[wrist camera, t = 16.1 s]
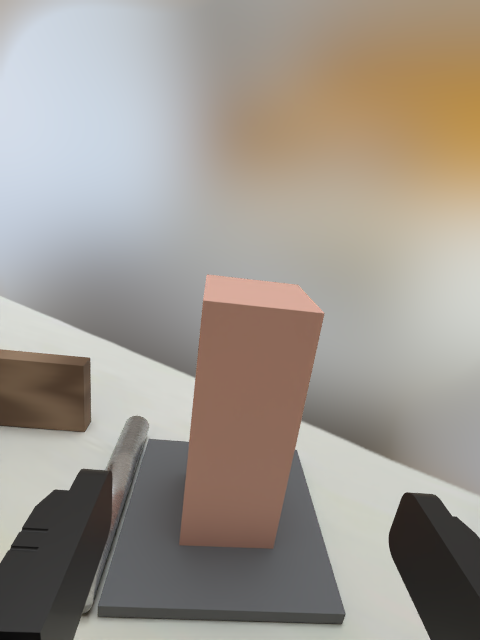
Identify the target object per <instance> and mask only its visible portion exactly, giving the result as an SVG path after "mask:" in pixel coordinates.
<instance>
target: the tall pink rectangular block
mask: <svg viewBox="0 0 480 640" xmlns="http://www.w3.org/2000/svg"><path fill="white" fill-rule="evenodd" d="M323 317H324V312H323V311H322V310H321V309H320V308H319V307H318V306H317V305H316V304H315V303H314V302H313V301H312V299H311V298H310V297H309V296H308V295H307V294H306V293H305V292H304V291H303V290H302V289H301V288H300V287H299V286H298V285H294V284H285V283H276V282H268V281H259V280H250V279H241V278H233V277H224V276H215V275H207V277H206V284H205V291H204V299H203V308H202V318H201V328H200V338H199V348H198V358H197V359H198V360H197V368H196V379H195V389H194V399H193V409H192V419H191V429H190V440H189V450H188V460H187V470H186V480H185V490H184V501H183V511H182V521H181V531H180V541H179V545H186V546H213V547H240V548H268V549H273V547H274V543H275V538H276V533H277V529H278V524H279V520H280V515H281V511H282V506H283V501H284V497H285V492H286V488H287V483H288V478H289V474H290V469H291V465H292V460H293V455H294V451H295V446H296V442H297V437H298V432H299V428H300V423H301V419H302V414H303V409H304V405H305V400H306V396H307V391H308V387H309V382H310V377H311V373H312V368H313V364H314V359H315V354H316V349H317V345H318V340H319V336H320V331H321V327H322V322H323Z"/></svg>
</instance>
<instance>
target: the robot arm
mask: <svg viewBox="0 0 480 640" xmlns="http://www.w3.org/2000/svg"><path fill="white" fill-rule="evenodd" d="M112 482H113V475H112V471H107V470H92V469H81V470H80V472H79V473H78V475H77V477H76V478H75V480H74V482H73V484H72V486H71V488H70V490H69V491H67V490H54V491H53V492H51V493H50V494H49V495H48V496H47V497H46V498H45V499H43V500H42V501H41V502H40V503H39V504H38V505H37V506H35V508H34V509H33V511H32V513H31V514H30V516H29V518H28V519H27V521H26V522H25V524H24V526H23V527H22V531H21V532H19V534H18V535H17V537H16V539H15V540H14V542H13V544H12V545H11V549H10V551H9V550H8V552H7V553H6V555H5V557H4V558H3V560H2V561H1V563H0V640H73V638H74V636H75V633H76V630H77V627H78V624H79V621H80V618H81V615H82V612H83V609H84V606H85V604H86V601H87V598H88V595H89V592H90V589H91V586H92V583H93V580H94V577H95V574H96V571H97V569H98V566H99V563H100V560H101V557H102V554H103V551H104V548H105V545H106V542H107V539H108V535H109V531H110V526H111V520H112ZM389 548H390V552H391V555H392V558H393V560H394V563H395V565H396V567H397V569H398V571H399V573H400V575H401V577H402V580H403V582H404V584H405V586H406V588H407V590H408V592H409V594H410V597H411V599H412V601H413V603H414V605H415V607H416V609H417V611H418V614H419V616H420V618H421V620H422V622H423V624H424V626H425V629H426V631H427V633H428V635H429V637H430V639H431V640H480V538H479V537H478V536H477V534H475V533H474V532H473V531H472V530H471V529H470V528H469V527H467V526H466V525H465V524H464V523H463V522H462V521H461V520H460V519H458V518H457V517H453V516H452V515H451V514H450V513H449V511H448V510H447V508H446V507H445V506H444V504H443V503H442V501H441V500H440V499H439V498H438V497H437V496H436V495H433V494H422V493H405V494H404V495H403V496H402V498H401V501H400V504H399V507H398V509H397V512H396V515H395V518H394V521H393V524H392V526H391V529H390V532H389Z"/></svg>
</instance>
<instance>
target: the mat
mask: <svg viewBox="0 0 480 640" xmlns="http://www.w3.org/2000/svg"><path fill="white" fill-rule="evenodd" d="M188 450H189V442H183V441H170V440H156V439H149V441H148V444H147V447H146V450H145V454H144V457H143V460H142V463H141V467H140V470H139V473H138V477H137V480H136V483H135V486H134V490H133V493H132V496H131V499H130V503H129V506H128V509H127V513H126V516H125V519H124V522H123V526H122V529H121V532H120V535H119V539H118V542H117V545H116V549H115V552H114V555H113V558H112V562H111V565H110V568H109V571H108V575H107V578H106V581H105V585H104V588H103V591H102V594H101V598H100V601H99V604H98V616H102V617H135V618H169V619H202V620H235V621H268V622H301V623H334V624H342V623H343V620H344V617H345V611H344V607H343V604H342V601H341V597H340V594H339V591H338V587H337V584H336V580H335V577H334V574H333V570H332V567H331V564H330V560H329V557H328V554H327V550H326V547H325V543H324V540H323V537H322V533H321V530H320V527H319V523H318V520H317V517H316V513H315V510H314V506H313V503H312V500H311V496H310V493H309V490H308V486H307V483H306V479H305V476H304V473H303V469H302V466H301V463H300V459H299V456H298V453H297V450H295V451H294V455H293V460H292V465H291V469H290V474H289V478H288V483H287V488H286V492H285V497H284V501H283V506H282V511H281V515H280V520H279V524H278V529H277V533H276V538H275V543H274V547H273V549H268V548H240V547H213V546H186V545H179V541H180V531H181V521H182V511H183V501H184V490H185V480H186V470H187V460H188Z"/></svg>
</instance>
